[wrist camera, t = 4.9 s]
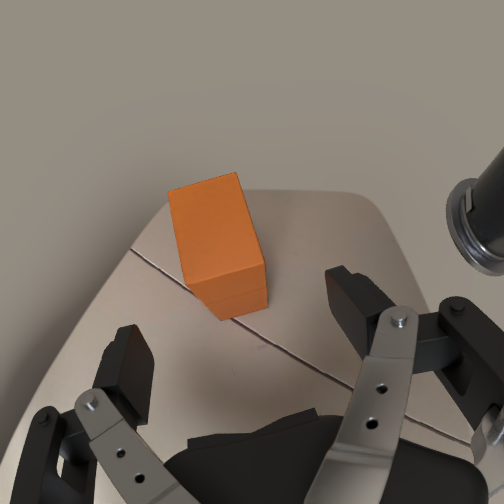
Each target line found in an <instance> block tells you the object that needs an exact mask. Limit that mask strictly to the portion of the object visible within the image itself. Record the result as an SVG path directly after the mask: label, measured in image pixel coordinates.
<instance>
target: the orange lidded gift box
mask: <svg viewBox="0 0 504 504" xmlns="http://www.w3.org/2000/svg"><path fill="white" fill-rule="evenodd" d="M168 198H169V204H170V209H171V215H172V221H173V226H174V232H175V237H176V242H177V247H178V252H179V257H180V262H181V267H182V272H183V276H184V281H185V285H186V286H187V287H188V288H189V289H190V290H191V291H192V292H193V293H194V294H195V295H196V296H197V297H198V298H199V299H200V300H201V301H202V302H203V303H204V305H205V306H206V307H207V308H208V309H209V310H210V311H211V312H212V313H213V314H214V315H215V316H217V317H218V318H219V319H220V320H221V321H222V320H226V319H230V318H233V317H237V316H240V315H244V314H247V313H251V312H254V311H258V310H261V309H265V308H268V298H267V284H266V269H265V260H264V257H263V254H262V251H261V248H260V244H259V241H258V238H257V235H256V232H255V229H254V226H253V222H252V219H251V216H250V213H249V210H248V207H247V204H246V201H245V198H244V194H243V191H242V188H241V186H240V182H239V179H238V176H237V173H236V172H234V173H230V174H226V175H223V176H219V177H216V178H212V179H209V180H205V181H202V182H198V183H195V184H192V185H188V186H185V187H182V188H178V189H175V190H172V191H169V192H168Z"/></svg>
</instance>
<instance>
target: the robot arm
mask: <svg viewBox="0 0 504 504" xmlns="http://www.w3.org/2000/svg"><path fill="white" fill-rule="evenodd" d="M460 217H461V222H462V225H463V228H464V230H465V232H466V234H467V236H468V238H469V240H470V241H471V243H472V244H473V246H474V247H475V248H476V249H477V250H478V251H479V252H480V253H481V254H482V255H484V256H485V257H486V258H488V259H490V260H493V261H496V262H503V261H504V147H503V149H502V150H501V151H500V152H499V154H498V155H497V156H496V157H495V159H494V160H493V161H492V162H491V164H490V165H489V166H488V167H487V169H486V170H485V171H484V172H483V173H482V174H481V176H480V177H479V178H478V179H477V180H476V181H475V183H474V184H473V185H471V186H470V187H469V188H468V189H467V190H466V191H465V193H464V194H463V196H462V198H461V201H460ZM325 280H326V287H327V294H328V301H329V306H330V309H331V312H332V314H333V316H334V318H335V319H336V321H337V322H338V324H339V325H340V327H341V328H342V330H343V331H344V333H345V334H346V336H347V337H348V339H349V341H350V342H351V344H352V345H353V347H354V348H355V350H356V351H357V353H358V354H359V356H360V357H361V359H362V361H363V363H362V366H361V370H360V373H359V376H358V379H357V382H356V385H355V388H354V391H353V393H352V396H351V399H350V402H349V405H348V407H347V410H346V413H345V415H344V416H337V415H322V416H318V415H317V412H316V410H315V408H312V409H309V410H305V411H302V412H299V413H296V414H293V415H289V416H286V417H283V418H281V419H279V420H277V421H275V422H273V423H271V424H269V425H267V426H265V427H263V428H261V429H259V430H257V431H255V432H252V433H237V434H213V435H208V436H202V437H197V438H191V439H187V442H188V448H187V449H185V450H183V451H181V452H179V453H177V454H176V455H174V456H173V457H171V458H170V459H169V460H168V461H166V462H165V463H164V462H163V461H162V460H161V459H160V458H159V457H158V456H157V455H156V454H155V452H154V451H153V450H152V449H151V448H150V447H149V446H148V444H147V443H146V442H145V441H144V440H143V439H142V437H141V436H140V435H139V434H138V433H137V432H136V430H137V426H140V425H147V424H148V415H149V405H150V396H151V388H152V380H153V372H154V358H153V355H152V352H151V350H150V348H149V347H148V345H147V343H146V341H145V339H144V337H143V335H142V334H141V332H140V330H139V328H138V326H137V325H135V324H133V325H129V326H125V327H121V328H118V330H117V333H116V336H115V339H114V341H112V342H110V344H109V345H108V346H107V347H106V349H105V350H104V353H103V356H102V360H101V362H100V365H99V368H98V371H97V374H96V377H95V380H94V383H93V386H92V389H89V390H87V391H85V392H84V393H82V394H81V395H80V396H79V397H78V399H77V400H76V402H75V407H74V408H75V409H72V410H70V411H67V412H65V413H62V414H60V413H59V412H58V411H57V409H56V408H54V407H52V406H47V407H44V408H42V409H40V410H39V411H38V412H37V413H36V414H35V415H34V417H33V419H32V422H31V425H30V428H29V431H28V434H27V437H26V440H25V444H24V447H23V451H22V454H21V458H20V461H19V465H18V469H17V473H16V477H15V481H14V486H13V490H12V495H11V500H10V504H94V490H95V478H96V468H97V460H98V461H99V463H100V465H101V466H102V468H103V469H104V471H105V473H106V474H107V476H108V477H109V479H110V480H111V482H112V483H113V485H114V486H115V488H116V489H117V491H118V492H119V494H120V495H121V496H122V498H123V499H124V501H125V502H126V503H127V504H488V500H489V498H490V497H492V496H493V495H495V494H496V493H498V492H499V491H500V490H502V489H503V488H504V332H503V331H502V330H501V329H500V328H499V327H498V326H497V325H496V324H495V323H494V322H493V321H492V320H491V319H490V318H488V316H487V315H485V314H484V313H483V312H482V311H481V310H480V309H479V308H478V307H477V306H476V305H475V304H473V303H472V302H471V301H470V300H468V299H466V298H463V297H459V296H455V297H449V298H446V299H444V300H443V301H442V302H441V303H440V305H439V312H434V313H428V314H422V315H418V314H417V312H416V311H415V310H413V309H411V308H409V307H406V306H396V305H395V304H394V303H393V302H392V301H391V300H390V299H389V298H388V296H387V295H386V294H385V293H384V292H383V291H382V290H380V289H379V287H377V286H376V285H374V283H373V282H372V281H371V280H370V279H369V278H368V277H367V276H365V275H362V274H360V273H355V274H351V273H350V272H349V271H348V270H347V269H346V268H345V267H344V266H343V265H341V266H338V267H335V268H332V269H329V270H326V271H325ZM428 371H434V373H435V374H436V376H437V377H438V378H439V380H440V381H441V383H442V384H443V385H444V387H445V388H446V390H447V391H448V393H449V394H450V395H451V397H452V398H453V400H454V401H455V403H456V404H457V406H458V407H459V409H460V410H461V412H462V413H463V415H464V416H465V418H466V419H467V421H468V422H469V424H470V425H471V427H472V428H473V430H474V432H475V433H474V435H473V436H472V439H471V450H472V453H473V456H474V465H473V464H472V463H470V462H468V461H466V460H464V459H461V458H458V457H455V456H451V455H448V454H445V453H442V452H439V451H436V450H433V449H430V448H427V447H424V446H421V445H419V444H416V443H413V442H410V441H408V440H405V439H402V438H400V432H401V428H402V424H403V419H404V415H405V410H406V405H407V400H408V395H409V389H410V384H411V378H412V374H417V373H422V372H428ZM59 455H60V456H61V457H63V458H64V463H63V469H62V474H61V478H60V476H59V475H58V473H57V462H58V457H59Z"/></svg>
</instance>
